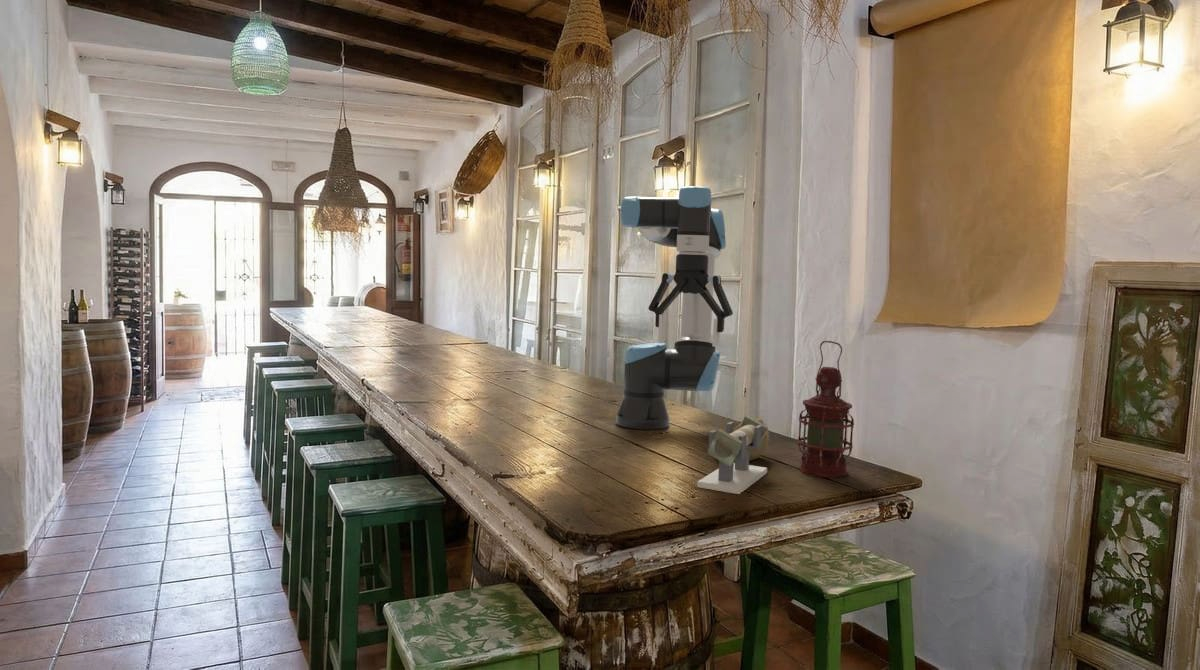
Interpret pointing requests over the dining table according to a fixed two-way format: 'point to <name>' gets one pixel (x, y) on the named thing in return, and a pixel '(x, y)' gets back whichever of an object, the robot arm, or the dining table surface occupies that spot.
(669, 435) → the dining table surface
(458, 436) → the dining table surface
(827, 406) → the lantern
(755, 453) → the low-poly potato
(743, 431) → the column
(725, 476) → the bracket
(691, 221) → the robot arm
